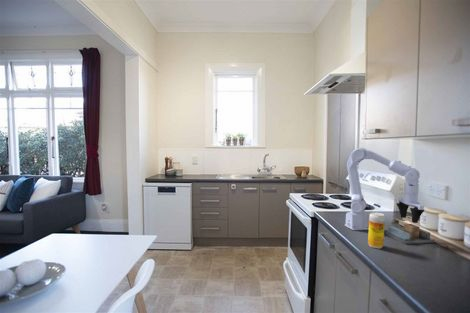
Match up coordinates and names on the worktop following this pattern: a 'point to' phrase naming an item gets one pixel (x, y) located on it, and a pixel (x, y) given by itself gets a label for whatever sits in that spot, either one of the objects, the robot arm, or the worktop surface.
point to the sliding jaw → (399, 233)
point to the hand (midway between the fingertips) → (408, 220)
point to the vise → (415, 238)
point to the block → (412, 230)
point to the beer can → (376, 230)
